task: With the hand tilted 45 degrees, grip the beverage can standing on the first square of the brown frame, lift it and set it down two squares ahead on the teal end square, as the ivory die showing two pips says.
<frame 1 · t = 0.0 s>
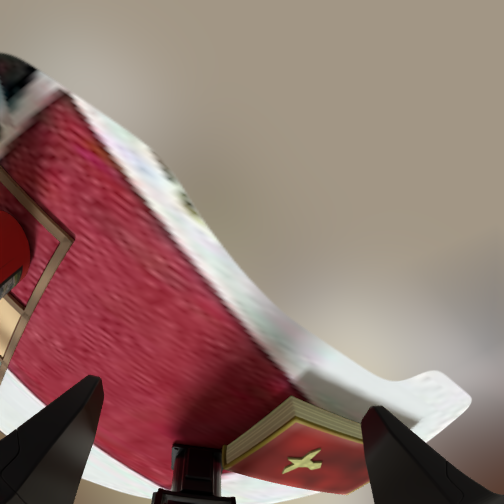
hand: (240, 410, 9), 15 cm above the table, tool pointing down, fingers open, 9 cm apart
beverage can: (8, 243, 22), resting in brown frame
hardcover book: (320, 442, 33), on the table
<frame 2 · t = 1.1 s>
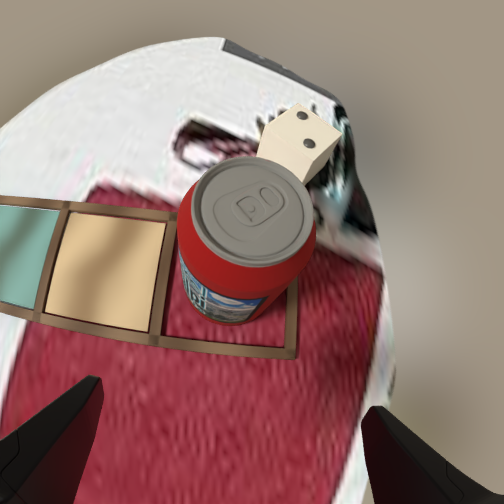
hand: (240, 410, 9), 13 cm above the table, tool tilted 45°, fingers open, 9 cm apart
beverage can: (227, 285, 25), resting in brown frame
brown frame: (103, 267, 23), on the table
die: (290, 163, 30), on the table
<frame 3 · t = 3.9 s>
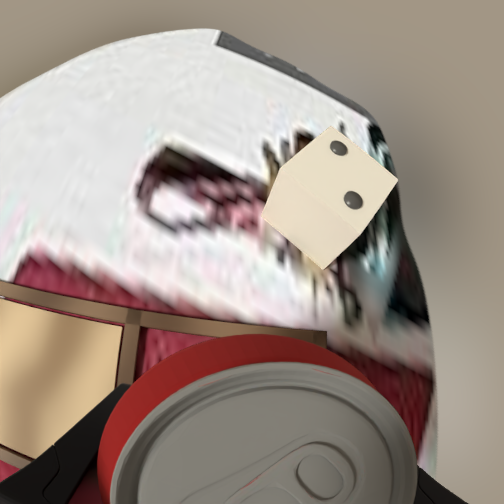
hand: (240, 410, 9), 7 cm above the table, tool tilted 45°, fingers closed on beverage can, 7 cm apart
beverage can: (219, 423, 15), resting in brown frame, touching gripper
brown frame: (41, 388, 13), on the table
die: (314, 218, 20), on the table
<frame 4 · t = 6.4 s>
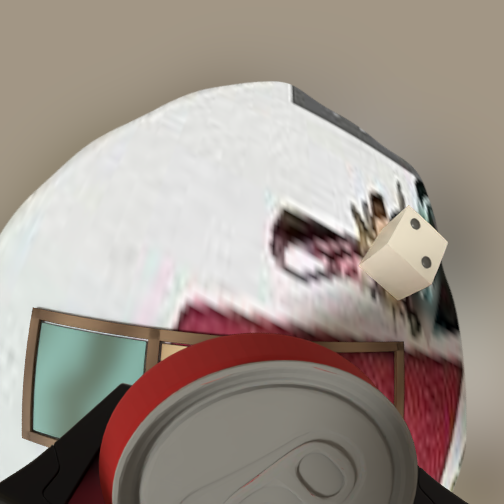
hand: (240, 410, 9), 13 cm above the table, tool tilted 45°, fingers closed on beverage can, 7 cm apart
beverage can: (220, 422, 15), point 6 cm above the table, touching gripper
brown frame: (219, 408, 21), on the table
die: (389, 264, 28), on the table
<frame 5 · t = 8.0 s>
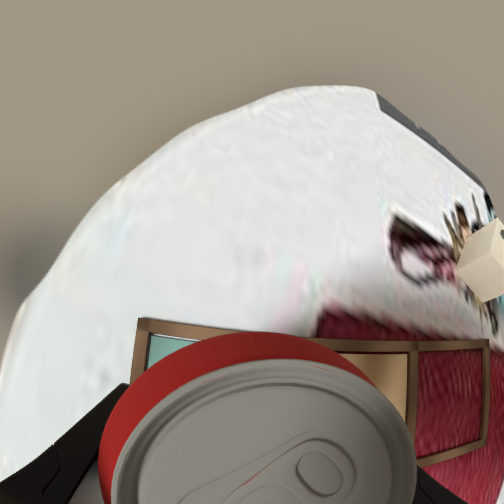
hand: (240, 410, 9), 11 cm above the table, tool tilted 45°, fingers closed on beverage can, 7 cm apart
beverage can: (219, 422, 15), point 4 cm above the table, touching gripper
brown frame: (356, 413, 20), on the table
die: (474, 270, 27), on the table
when the fingers open (8 cm above the table, at t = 9.1 s): beverage can stays where it is, resting on brown frame.
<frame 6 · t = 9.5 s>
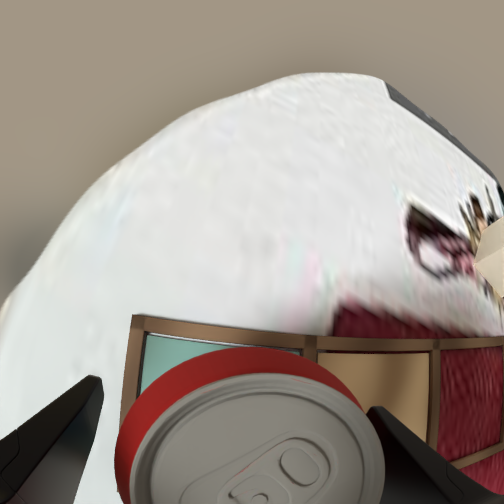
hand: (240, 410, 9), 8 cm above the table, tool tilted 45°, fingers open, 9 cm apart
beverage can: (218, 421, 16), resting on brown frame
brown frame: (376, 419, 17), on the table
die: (492, 263, 24), on the table
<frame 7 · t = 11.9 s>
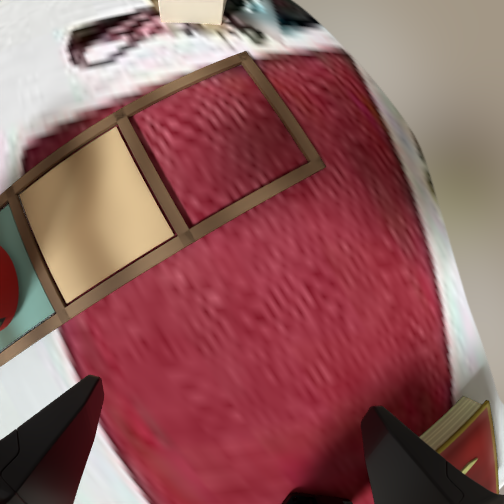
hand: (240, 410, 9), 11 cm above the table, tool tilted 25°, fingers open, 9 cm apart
hardcover book: (436, 481, 23), on the table
brown frame: (87, 212, 19), on the table
die: (196, 5, 21), on the table
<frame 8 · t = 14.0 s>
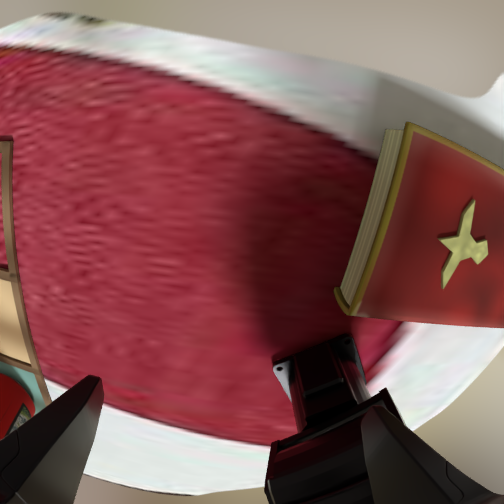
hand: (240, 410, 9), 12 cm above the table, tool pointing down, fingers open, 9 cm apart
beverage can: (14, 389, 25), resting on brown frame
hardcover book: (464, 239, 21), on the table
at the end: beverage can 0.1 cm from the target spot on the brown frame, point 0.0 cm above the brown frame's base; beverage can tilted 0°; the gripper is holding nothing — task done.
